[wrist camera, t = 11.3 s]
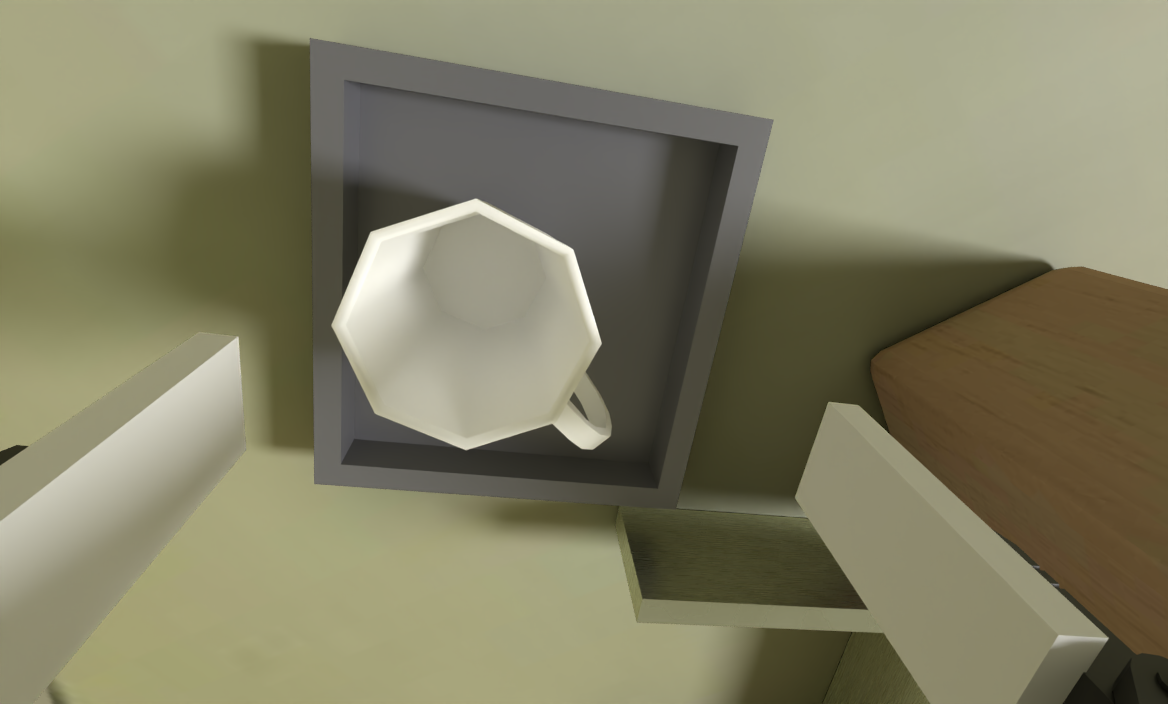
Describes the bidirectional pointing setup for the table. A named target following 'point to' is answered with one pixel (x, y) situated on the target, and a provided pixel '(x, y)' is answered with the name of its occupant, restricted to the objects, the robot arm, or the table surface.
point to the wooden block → (1053, 433)
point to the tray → (563, 211)
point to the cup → (473, 329)
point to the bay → (758, 589)
